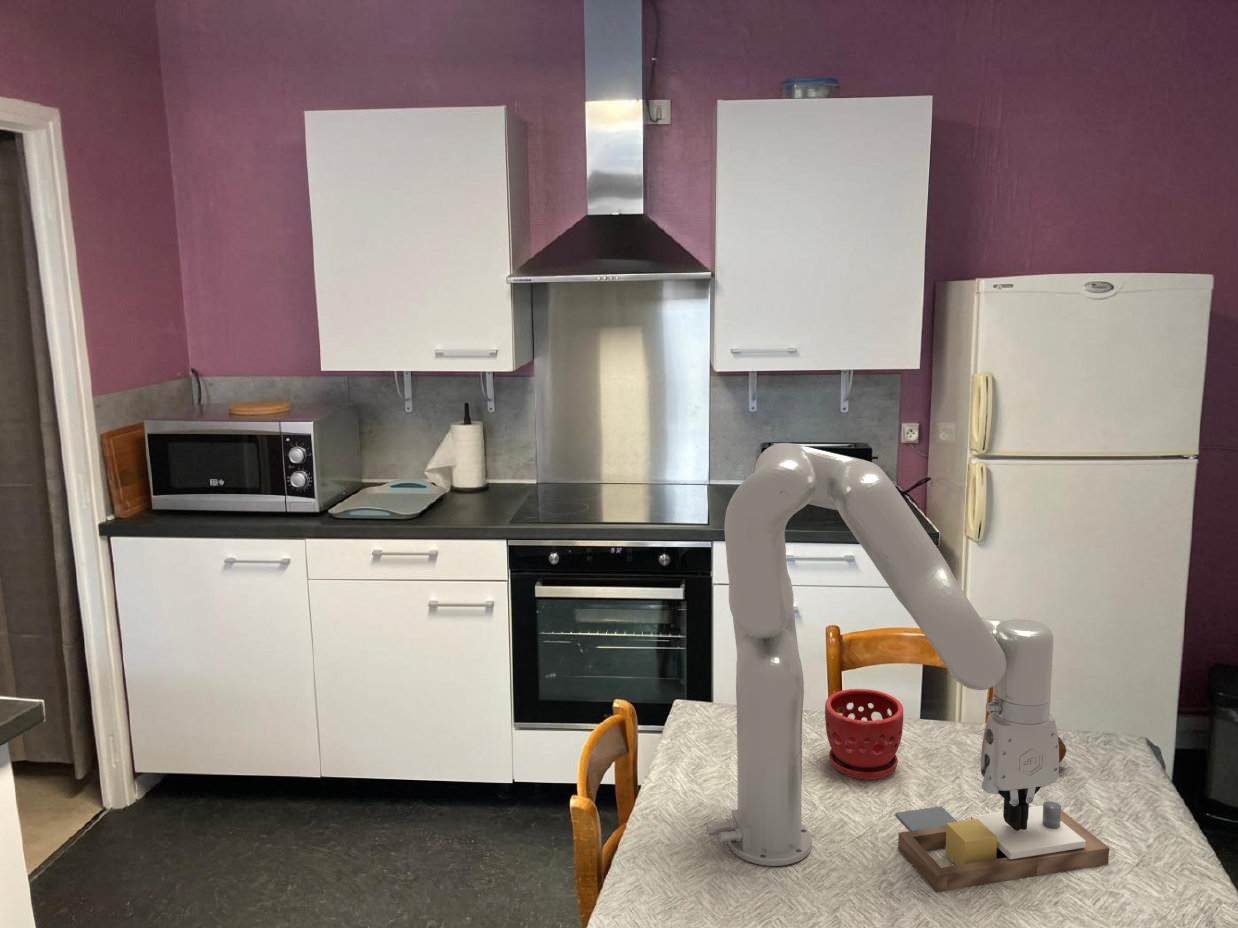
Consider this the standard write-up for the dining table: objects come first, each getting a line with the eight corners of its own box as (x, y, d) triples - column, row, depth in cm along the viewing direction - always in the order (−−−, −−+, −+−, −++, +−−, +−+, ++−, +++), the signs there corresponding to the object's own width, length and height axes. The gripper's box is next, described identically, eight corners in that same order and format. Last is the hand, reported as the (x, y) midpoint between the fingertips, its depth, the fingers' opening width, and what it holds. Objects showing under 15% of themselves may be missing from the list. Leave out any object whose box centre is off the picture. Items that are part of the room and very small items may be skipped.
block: (964, 873, 138) (965, 841, 137) (945, 854, 143) (946, 823, 142) (995, 868, 139) (997, 836, 138) (976, 849, 144) (977, 818, 143)
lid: (1010, 859, 136) (1011, 833, 135) (970, 822, 146) (971, 797, 145) (1085, 847, 139) (1087, 821, 138) (1041, 811, 148) (1042, 787, 148)
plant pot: (812, 754, 174) (813, 691, 172) (880, 746, 176) (882, 684, 174) (842, 790, 161) (844, 723, 159) (916, 781, 164) (917, 714, 162)
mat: (920, 842, 146) (920, 839, 146) (895, 814, 153) (895, 812, 153) (969, 835, 147) (969, 832, 147) (941, 808, 155) (941, 805, 155)
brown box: (936, 891, 134) (937, 875, 133) (898, 847, 144) (898, 832, 144) (1108, 863, 139) (1109, 847, 139) (1058, 823, 150) (1059, 808, 149)
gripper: (988, 724, 133) (983, 846, 136) (1084, 711, 136) (1077, 831, 139) (958, 702, 140) (954, 818, 144) (1050, 690, 143) (1044, 805, 147)
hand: (1015, 824), depth 141 cm, fingers closed
